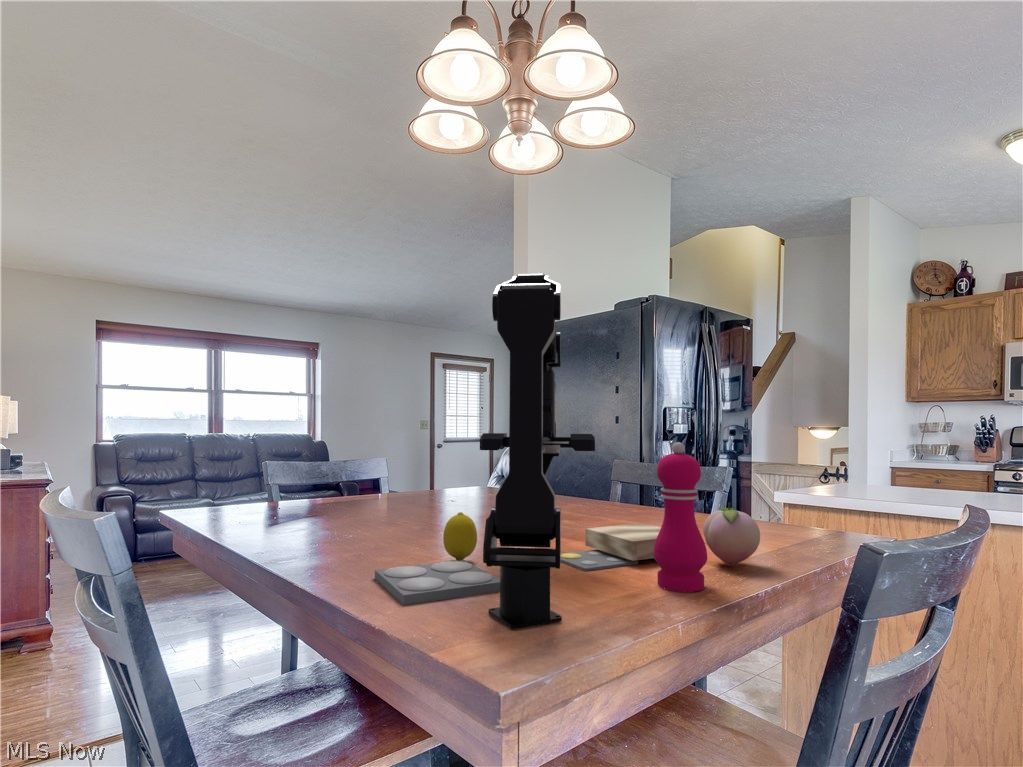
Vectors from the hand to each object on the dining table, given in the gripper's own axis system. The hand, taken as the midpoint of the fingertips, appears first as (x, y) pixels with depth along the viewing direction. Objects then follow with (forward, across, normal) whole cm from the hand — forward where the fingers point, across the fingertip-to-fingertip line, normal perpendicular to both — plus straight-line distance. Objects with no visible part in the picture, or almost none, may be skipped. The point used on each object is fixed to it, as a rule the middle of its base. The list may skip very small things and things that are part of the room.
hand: (537, 494), depth 94 cm
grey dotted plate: (+11, -9, -2) cm, 14 cm away
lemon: (+11, +13, +1) cm, 17 cm away
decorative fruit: (+11, -31, -2) cm, 33 cm away
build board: (+11, +13, +15) cm, 23 cm away
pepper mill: (+11, -21, +11) cm, 26 cm away
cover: (+11, -17, -8) cm, 22 cm away
